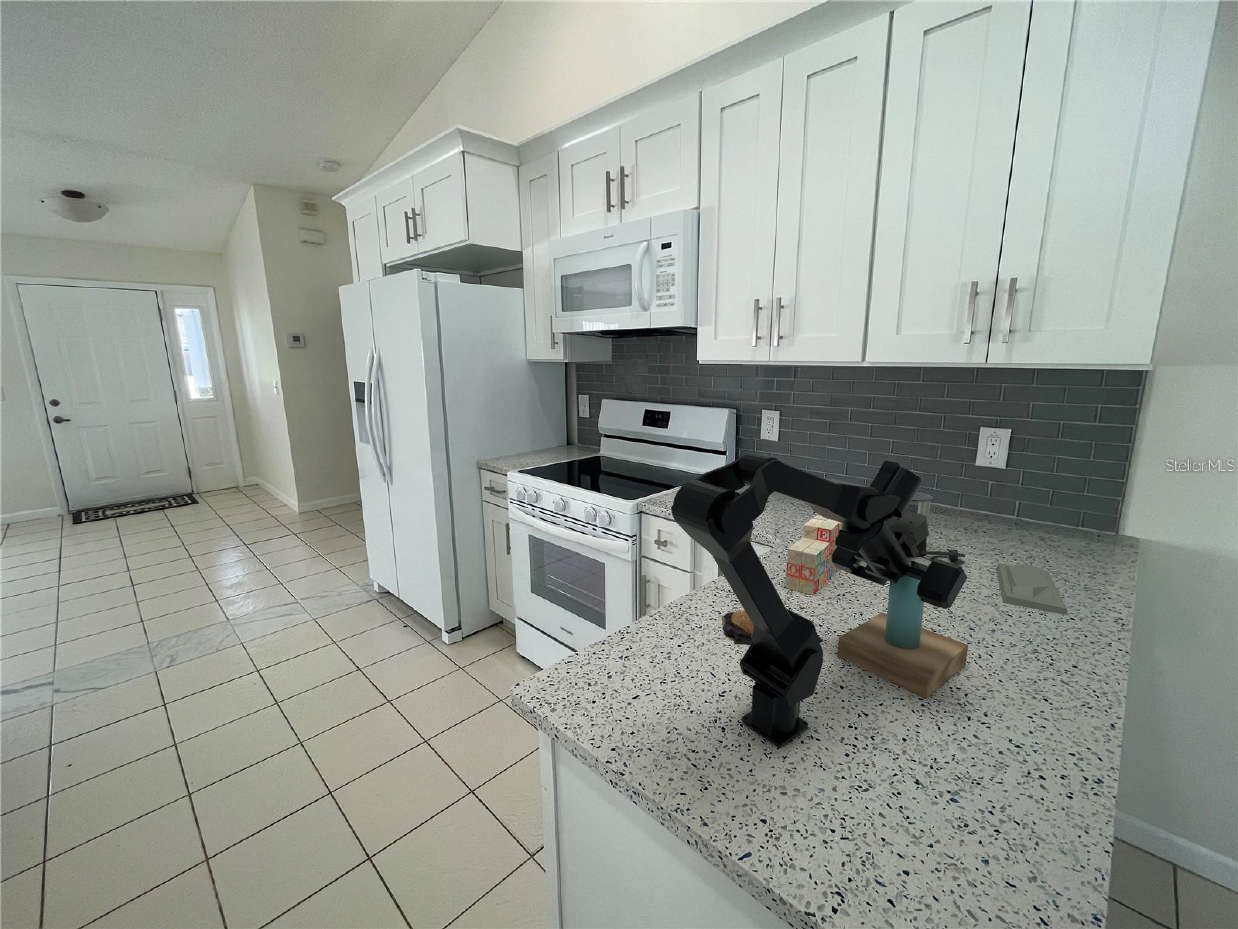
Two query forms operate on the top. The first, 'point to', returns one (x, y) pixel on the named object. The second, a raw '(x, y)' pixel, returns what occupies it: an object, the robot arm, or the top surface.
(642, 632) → the top surface
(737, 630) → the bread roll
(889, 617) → the teal post
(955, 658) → the walnut plinth
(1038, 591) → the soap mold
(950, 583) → the robot arm
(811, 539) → the stack of blocks
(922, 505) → the milk frother
